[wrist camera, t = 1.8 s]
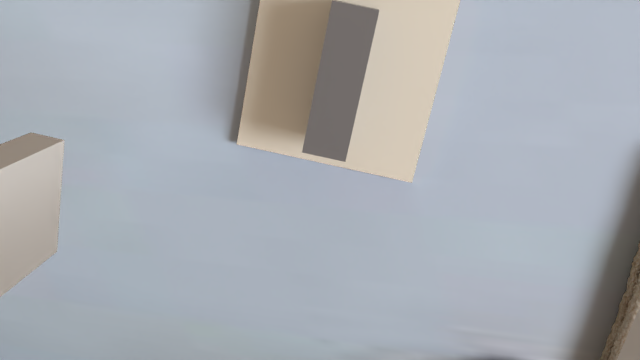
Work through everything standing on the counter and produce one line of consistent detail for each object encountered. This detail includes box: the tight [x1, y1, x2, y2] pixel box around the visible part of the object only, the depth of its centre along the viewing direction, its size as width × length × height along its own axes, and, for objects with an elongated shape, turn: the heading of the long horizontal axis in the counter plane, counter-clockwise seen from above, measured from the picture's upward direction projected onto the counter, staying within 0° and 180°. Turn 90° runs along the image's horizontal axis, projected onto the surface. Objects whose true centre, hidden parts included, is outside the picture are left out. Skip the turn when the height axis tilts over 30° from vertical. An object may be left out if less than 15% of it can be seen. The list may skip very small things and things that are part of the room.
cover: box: [237, 0, 460, 183], centre depth 32 cm, size 11×11×5 cm
